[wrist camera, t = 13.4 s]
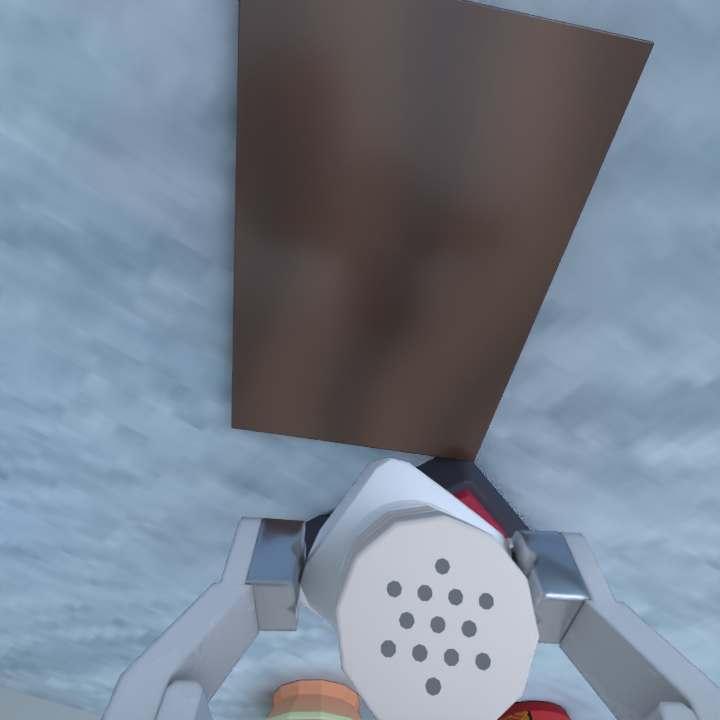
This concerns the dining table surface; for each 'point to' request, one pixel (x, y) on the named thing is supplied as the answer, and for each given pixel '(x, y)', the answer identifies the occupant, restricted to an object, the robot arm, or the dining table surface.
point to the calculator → (462, 485)
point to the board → (406, 208)
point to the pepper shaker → (421, 600)
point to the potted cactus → (314, 701)
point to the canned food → (534, 711)
